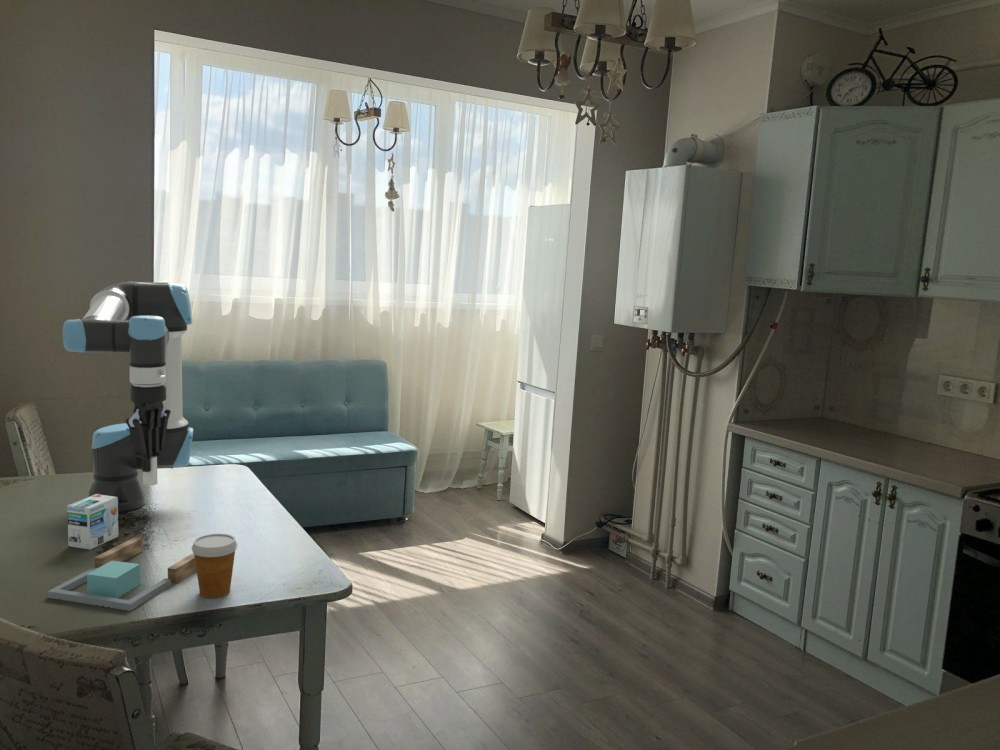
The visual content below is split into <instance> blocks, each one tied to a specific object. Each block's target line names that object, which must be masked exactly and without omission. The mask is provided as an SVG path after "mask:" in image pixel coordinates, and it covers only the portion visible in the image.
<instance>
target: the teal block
mask: <svg viewBox="0 0 1000 750" xmlns="http://www.w3.org/2000/svg"><path fill="white" fill-rule="evenodd" d="M86 584H87V585H86V586H87V587H86V588H87V594H92V595H99V596H105V597H111V598H118V599H120V598H122V597H123V596H125V595H126V594H128V593H130V592H131V591H133V590H134V589H135V588H137V587H139V586H140V585H141V564H140V563H134V562H128V561H127V562H126V561H124V562H119V561H110V562H108V563H106V564H105V565H103V566H101V567H99V568H97V569H96V570H94V571H92V572H90V573H88V574H87V582H86ZM132 589H133V590H132ZM127 592H128V593H127ZM124 594H125V595H124ZM122 595H123V596H122ZM119 597H120V598H119Z"/></svg>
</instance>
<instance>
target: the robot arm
mask: <svg viewBox="0 0 1000 750" xmlns="http://www.w3.org/2000/svg"><path fill="white" fill-rule="evenodd" d="M191 305H192V304H191V301H190V294H189V291H188V287H187V286H186V285H185V284H183V283H175V282H168V281H167V282H160V281H159V282H156V281H155V282H153V281H123V282H117V283H114V284H112V285H109V286H106V287H104V288H102V289H101V290H99V291H98V292H96V293H95V294H94V296H93V297H92V298H91V300H90V303H89V309H88V311H87V312H86V313H85V315H84V317H82V319H80V318H76V319H66V321H64V323H63V327H62V342H63V347H64V349H65V350H66V351H67V352H69V353H72V352H73V353H75V352H76V353H81V354H83V353H129V382H130V384H131V385H130V387H129V388H130V389H129V391H130V392H129V393H130V394H129V395H130V398H129V399H130V401H131V402H132V403H133V404H134V407H133V415H132V416H131V417H130V418H129V417H127V418H126V419H125V423H117V424H116V423H115V424H111V425H107V426H103V427H101V428H99V429H97V430H95V431H94V432H93V434H92V444H91V449H92V451H91V452H92V476H93V477H92V478H93V479H92V484H91V487H90V491H89V492H88V496H87V498H88V497H90V496H93V495H95V494H100V495H106V496H114V497H118V513H122V512H128V511H132V510H135V509H139V508H140V507H142V506H144V505H145V504H146V494H145V492H144V491H143V488H142V484H143V485H144V486H155V485H157V484H158V470H159V469H170V470H171V469H175V468H178V469H179V468H184V467H186V466H188V465H189V463H190V458H191V452H192V444H193V438H194V437H193V436H194V428H193V427H190V426H189V421H188V420H187V419H186V418H185V417H184V416H183V415H184V414H183V366H182V365H183V360H182V359H183V358H182V357H183V356H182V352H183V350H182V349H183V348H182V346H183V345H182V341H183V340H182V336H184V334H185V333H186V332H187V331H188V326H190V325H192V324H193V316H192V314H193V313H192V306H191ZM139 470H141V472H142V484H141V481H140V478H139Z"/></svg>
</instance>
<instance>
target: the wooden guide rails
mask: <svg viewBox="0 0 1000 750" xmlns="http://www.w3.org/2000/svg"><path fill="white" fill-rule="evenodd" d="M142 551H143V537H137V536H136V537H135V536H134V537H133V538H131V539H128V540H126V541H124V542H123V543H121V544H119V545H116V546H114V547H112V548H111V549H108V550H106V551H105V552H103V553H100V554H99V555H97V556H94V568H99V567H101V566H103V565H105V564H106V563H108V562H110V561H119V562H123V561H124V562H126V561H127V560H126V559H128V558H130V557H131V558H133V557H135V556H137V555H139V554H141V553H142ZM140 552H141V553H140ZM138 553H139V554H138ZM136 554H137V555H136ZM134 555H135V556H134ZM132 556H133V557H132ZM131 558H130V559H131ZM125 560H126V561H125ZM128 560H129V559H128ZM196 572H197V570H196V564H195V557H194V553H193V552H192V553H191V554H189V555H187V556H185V557H183V558H182V559H181V560H179V561H177V562H175V563H173V564H172V565H170V566H168V567H167V579H171V585H173V584H175V585H176V584H178V583H179V582H182V581H183V580H184V579H186V578H187V577H189V576H191V575H193V574H194V573H196Z"/></svg>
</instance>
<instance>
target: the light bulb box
mask: <svg viewBox="0 0 1000 750" xmlns="http://www.w3.org/2000/svg"><path fill="white" fill-rule="evenodd" d="M66 509H67V510H66V511H67V512H66V513H67V514H66V515H67V537H68V538H67V539H68V547H69V546H70V547H71V548H76V549H77V548H78V549H84V550H93V549H94V548H97V547H100V546H101V545H103V544H105V543H107V541H108V542H110V541H112V540H113V539H116V538H118V537H119V512H118V497H114V496H106V495H100V494H95V495H93V496H90V497H88V496H87V497H85V498H83V499H80V500H78V501H76V502H75V501H74V502H73V503H71V504H70V503H69V504H67V506H66Z"/></svg>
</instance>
